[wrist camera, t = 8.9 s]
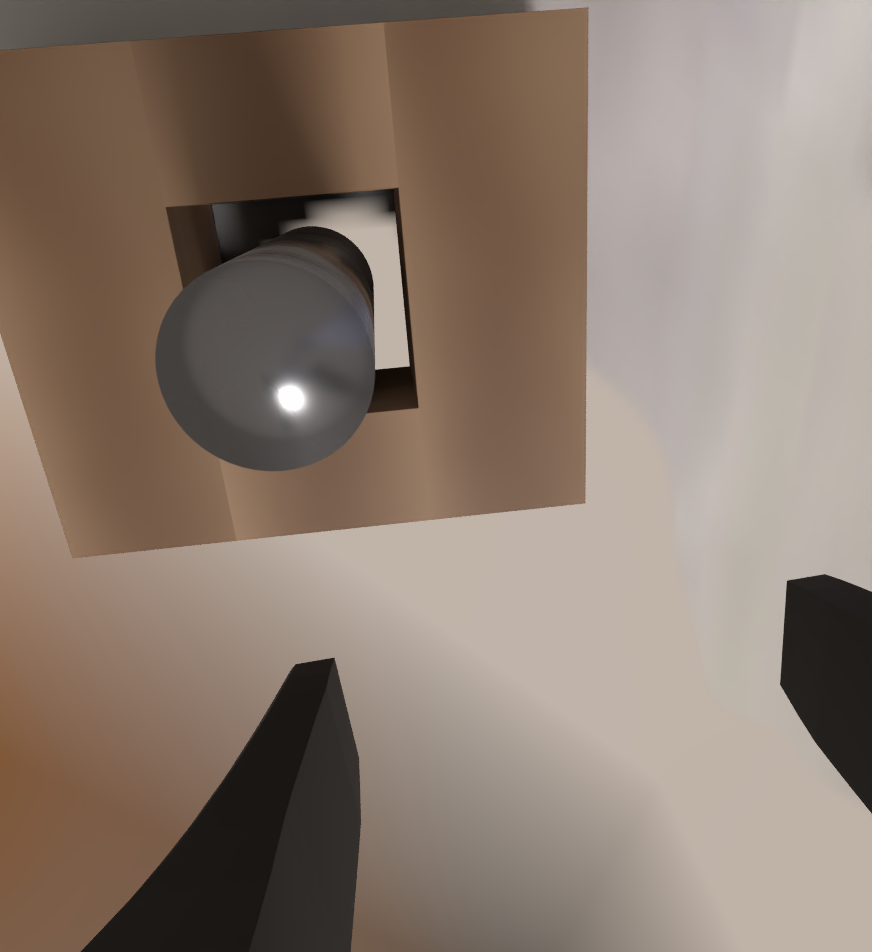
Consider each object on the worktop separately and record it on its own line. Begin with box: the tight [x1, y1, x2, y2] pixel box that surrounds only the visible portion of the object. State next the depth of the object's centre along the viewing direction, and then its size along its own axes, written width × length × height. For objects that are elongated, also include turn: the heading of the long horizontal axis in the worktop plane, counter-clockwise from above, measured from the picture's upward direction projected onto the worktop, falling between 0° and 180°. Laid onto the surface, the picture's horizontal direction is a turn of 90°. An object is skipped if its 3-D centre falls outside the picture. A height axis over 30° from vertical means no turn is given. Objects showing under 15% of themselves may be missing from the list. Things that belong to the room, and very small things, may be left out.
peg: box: [155, 226, 375, 471], centre depth 14 cm, size 3×3×9 cm
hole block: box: [0, 8, 588, 558], centre depth 16 cm, size 12×10×4 cm
